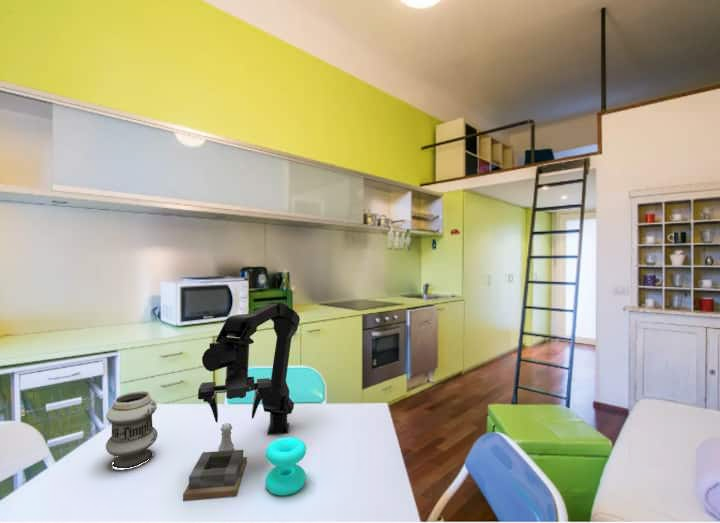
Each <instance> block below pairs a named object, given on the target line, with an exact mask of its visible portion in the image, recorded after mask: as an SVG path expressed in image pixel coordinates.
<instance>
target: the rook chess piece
mask: <svg viewBox="0 0 720 523" xmlns="http://www.w3.org/2000/svg"><path fill="white" fill-rule="evenodd" d="M232 429H233V425H232V424H231V423H230V422H228V423H227V422H226V423H224V424H222V425H221V427H220V432H221V442H220V443H219V446H218V449H217V450H218V451H231V450H235V446H234V443H233V441H232V436H231V434H232Z"/></svg>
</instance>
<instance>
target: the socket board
mask: <svg viewBox="0 0 720 523" xmlns="http://www.w3.org/2000/svg"><path fill="white" fill-rule="evenodd" d="M247 464H248V456H244V449H237V450H236V449H234V450H231V451H219V450H218V451H217V450H216V451H203V452H202V453H201V454H200V456H199V458H198V460H197V462H196V463H195V466H193V469H192V470H191V473H190V474H189V475H188V485H187V486H186V488H185V490H184V492H183V493H182V501H183V502H184V501H185V502H186V501H195V500H197V501H199V500H209V499H219V498H234V497H235V498H236V497H237V495H238V492H239V490H240V486H241V482H242V479H243V476H244V473H245V470H246V466H247Z"/></svg>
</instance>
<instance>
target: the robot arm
mask: <svg viewBox="0 0 720 523" xmlns="http://www.w3.org/2000/svg"><path fill="white" fill-rule="evenodd" d="M300 320H301V319H300V315H299V313H297V312H296V311H295V310H294V309H292V308H290V307H288V306H287V305H286V304H285V303H283V302H282V301H269V302H268V303H267V304H265V305H263V306H261V307H259V308H257V309H253V310H252V311H250V312H248V313H244V314H243V313H241V314H234V315H230V316H228V317H227V318H226V319H225V321H224V324H223V326H222V327H221V329H220V332H218V335H217V337H216V339H215V342H211V343H209V347H208V348H207V349H206V350H205V351H204V352H203V355H202V357H201V362H202V366H203V368H204V369H205V370H207V371H208V372H215V371H219V370H221V369H224V368H226V370H225V379H224V380H225V381H224V382H225V383H224V385H223V384H221V385H216V384H217V383H216V381H208V382H207V381H206V382H202V383H200V384H199V387H198V391H197V399H198V400H203V403H207V404H208V405H209V406H210V409H211V412H212V414H213V418H214V420H215V423H218V421H219V420H218V419H219V409H218V406H219V405H218V396H217V395H218V394H224V393H225V394H226V396H225V397H226V399H228V400H233V399H238V398H239V399H243V398H245V397H247V393H250V392H252V391H253V392H254V395H253V402H252V409H251V419H255V415H256V413H257V410H258V407H259V405H260V402H261V405H262V408H263V412H265V413H269V424H268V430H267V435H280V434H281V435H283V434H288V433H289V427H290V423H289V422H288V415H291V414H293V411H294V407H295V403H294V401H293V400H292V399H291V397H290V389H289V386H288V383H287V374H288V368H289V359H290V352H291V345H292V344H291V343H292V338H293V337H294V335H295V333H297V331H298V328H299V324H300ZM268 321H272V322H273V331H274V332H275V336H276V341H275V348H274V356H273V362H272V371H271V376H270V378H269V377H267V378H266V377H265V378H264V377H263V378H257V379H256V382H255V376H249V358H250V357H249V354H250V345H251V344H254V343H255V341H254V340H253V339H252V337H251V336H253V335H254V334H255V333H256V332H257V330H258V327H259V326H261V325H263V324H265V323H266V322H268Z"/></svg>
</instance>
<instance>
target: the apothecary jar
mask: <svg viewBox="0 0 720 523" xmlns="http://www.w3.org/2000/svg"><path fill="white" fill-rule="evenodd" d="M157 405H158V404H157V402H156V401H155V400H154V399H153V398H152V397H151V393H150V392H149V391H147V390H146V391H145V390H138V391H137V390H136V391H132V392H127V393H124V394H121V395H119V396H117V397H115V399H114V400H113V404H112V406H111V407H110V408H109V409H108V410H107V412H106V415H105V418H106V420H107V422H109V423H111V436H110V437H109V438H108V440H107V442H106V443H105V450H106V452H107V453H108V454H110V455H111V456H114V458H113V460H114V461H113V460H112V461H113V462H114V464H113V466H114V467H117V468H130V467H134V466H137V465H139V464H141V463H143V462H145V461H147V460H148V459H150V457H152V458H153V456H152V453H153V451H152V450H150V449H148V448H150V447H151V446H152V445H153V444H154V443H155V442H156V441H157V439H158V431H157V429H156V428H155V427H154V426H153V414H154V413H155V412H156V410H157V407H158V406H157ZM151 451H152V452H151ZM117 456H118V457H117ZM150 460H151V459H150Z"/></svg>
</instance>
